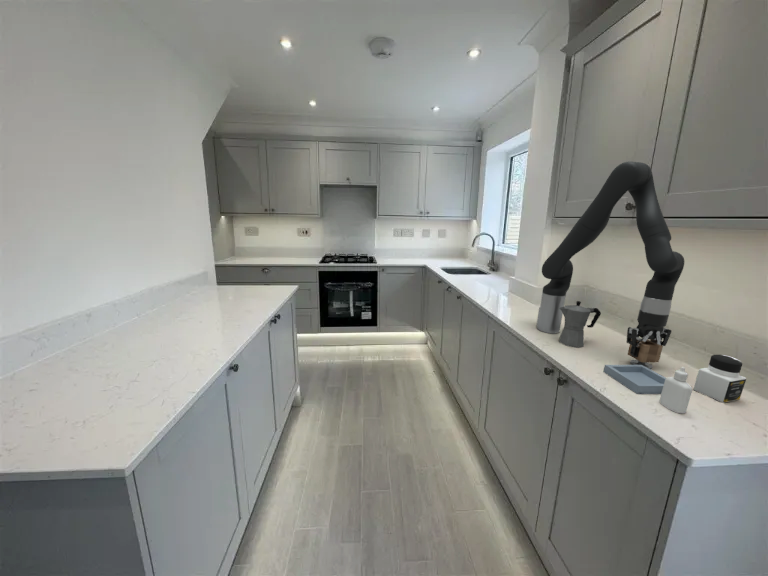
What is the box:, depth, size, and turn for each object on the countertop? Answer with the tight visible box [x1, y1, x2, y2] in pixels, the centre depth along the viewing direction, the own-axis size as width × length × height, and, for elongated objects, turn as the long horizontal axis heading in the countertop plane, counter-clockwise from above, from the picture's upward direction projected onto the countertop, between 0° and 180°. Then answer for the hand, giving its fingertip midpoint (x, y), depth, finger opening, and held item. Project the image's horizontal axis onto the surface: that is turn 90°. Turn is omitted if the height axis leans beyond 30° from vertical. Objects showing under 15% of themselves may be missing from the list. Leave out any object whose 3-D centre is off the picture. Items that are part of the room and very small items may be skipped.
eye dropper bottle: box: [659, 366, 693, 414], centre depth 81 cm, size 4×6×12 cm
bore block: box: [627, 339, 664, 363], centre depth 105 cm, size 6×6×6 cm
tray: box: [603, 364, 667, 395], centre depth 95 cm, size 13×13×3 cm
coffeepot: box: [558, 300, 602, 349], centre depth 122 cm, size 15×9×18 cm, turn 82°
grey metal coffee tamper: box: [629, 359, 653, 370], centre depth 105 cm, size 6×6×7 cm
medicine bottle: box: [692, 354, 747, 404], centre depth 88 cm, size 7×7×12 cm
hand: (642, 356), depth 105 cm, fingers closed on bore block, 6 cm apart
